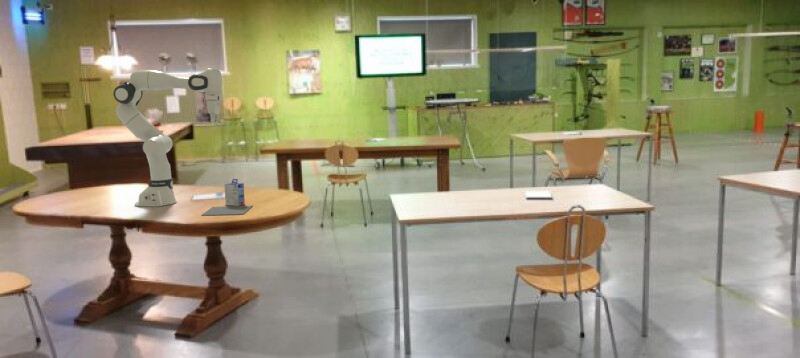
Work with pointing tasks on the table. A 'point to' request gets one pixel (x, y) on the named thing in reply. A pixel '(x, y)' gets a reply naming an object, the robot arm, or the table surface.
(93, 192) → the table surface
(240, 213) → the mat
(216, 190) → the table surface
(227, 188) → the ink cartridge box
